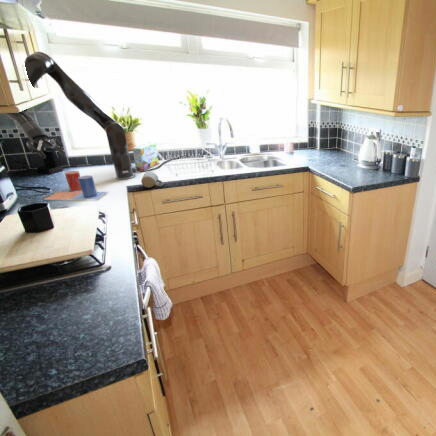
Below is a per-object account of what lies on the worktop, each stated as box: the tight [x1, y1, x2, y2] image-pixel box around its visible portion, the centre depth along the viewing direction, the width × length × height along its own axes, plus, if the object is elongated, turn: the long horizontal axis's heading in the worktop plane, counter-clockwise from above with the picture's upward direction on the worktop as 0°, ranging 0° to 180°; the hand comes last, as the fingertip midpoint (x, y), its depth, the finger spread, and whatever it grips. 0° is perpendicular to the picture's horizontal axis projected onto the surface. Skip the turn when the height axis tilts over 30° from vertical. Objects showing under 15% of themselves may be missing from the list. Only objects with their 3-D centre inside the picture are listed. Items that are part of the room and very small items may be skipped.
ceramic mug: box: [140, 171, 164, 189], centre depth 183 cm, size 11×8×8 cm
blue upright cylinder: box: [78, 175, 98, 198], centre depth 163 cm, size 6×6×10 cm
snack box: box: [131, 142, 160, 171], centre depth 218 cm, size 21×6×15 cm, turn 1°
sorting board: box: [43, 191, 107, 201], centre depth 165 cm, size 11×24×1 cm, turn 99°
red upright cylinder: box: [64, 170, 82, 192], centre depth 172 cm, size 6×6×10 cm
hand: (54, 155), depth 170 cm, fingers open, 8 cm apart
